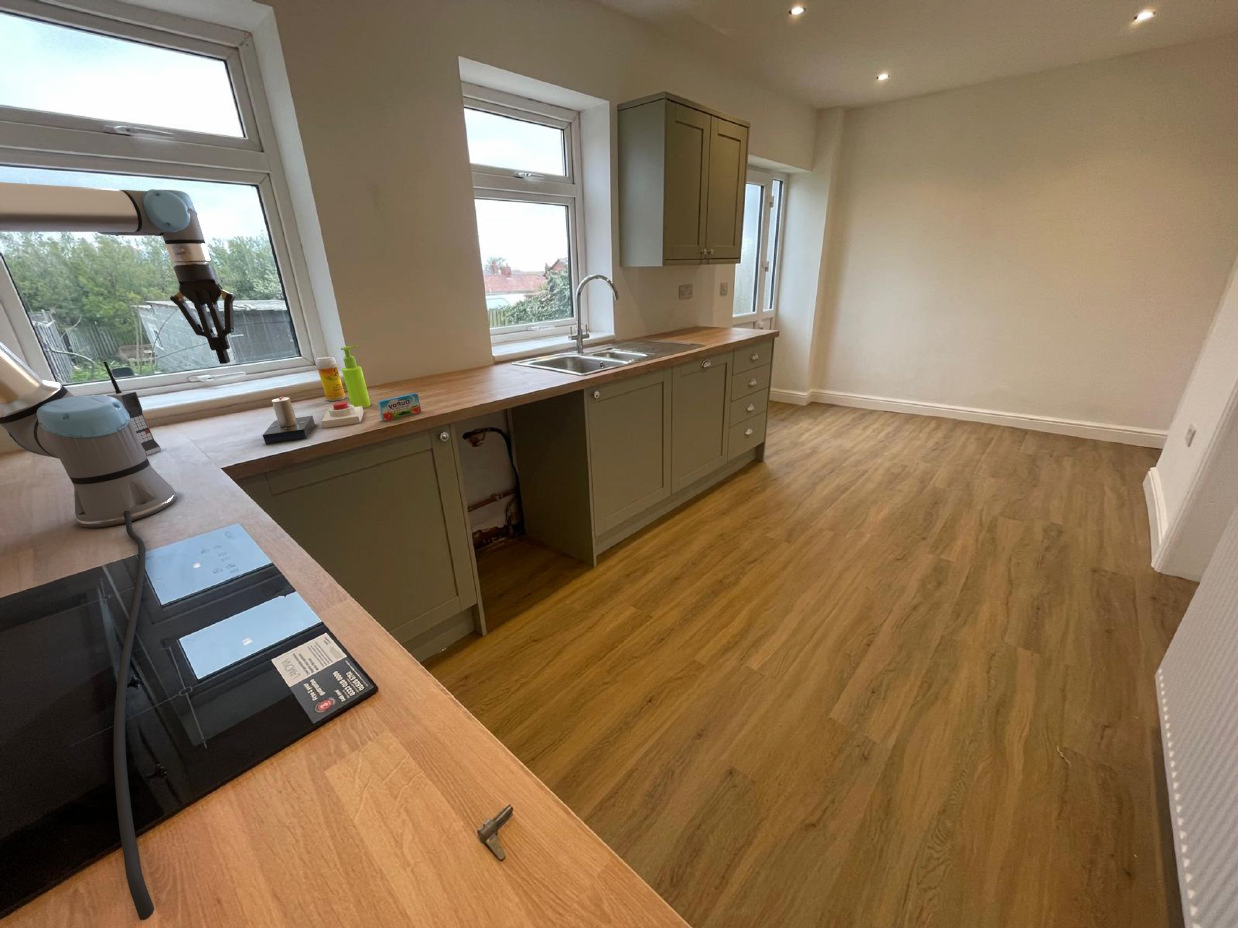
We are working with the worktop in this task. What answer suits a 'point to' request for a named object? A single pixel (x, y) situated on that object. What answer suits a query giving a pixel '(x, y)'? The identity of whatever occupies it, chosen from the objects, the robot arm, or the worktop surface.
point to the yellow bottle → (330, 378)
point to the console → (289, 431)
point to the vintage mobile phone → (135, 416)
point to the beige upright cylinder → (284, 411)
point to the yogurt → (399, 406)
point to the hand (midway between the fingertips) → (225, 362)
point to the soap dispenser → (354, 380)
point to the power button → (340, 405)
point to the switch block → (343, 416)
